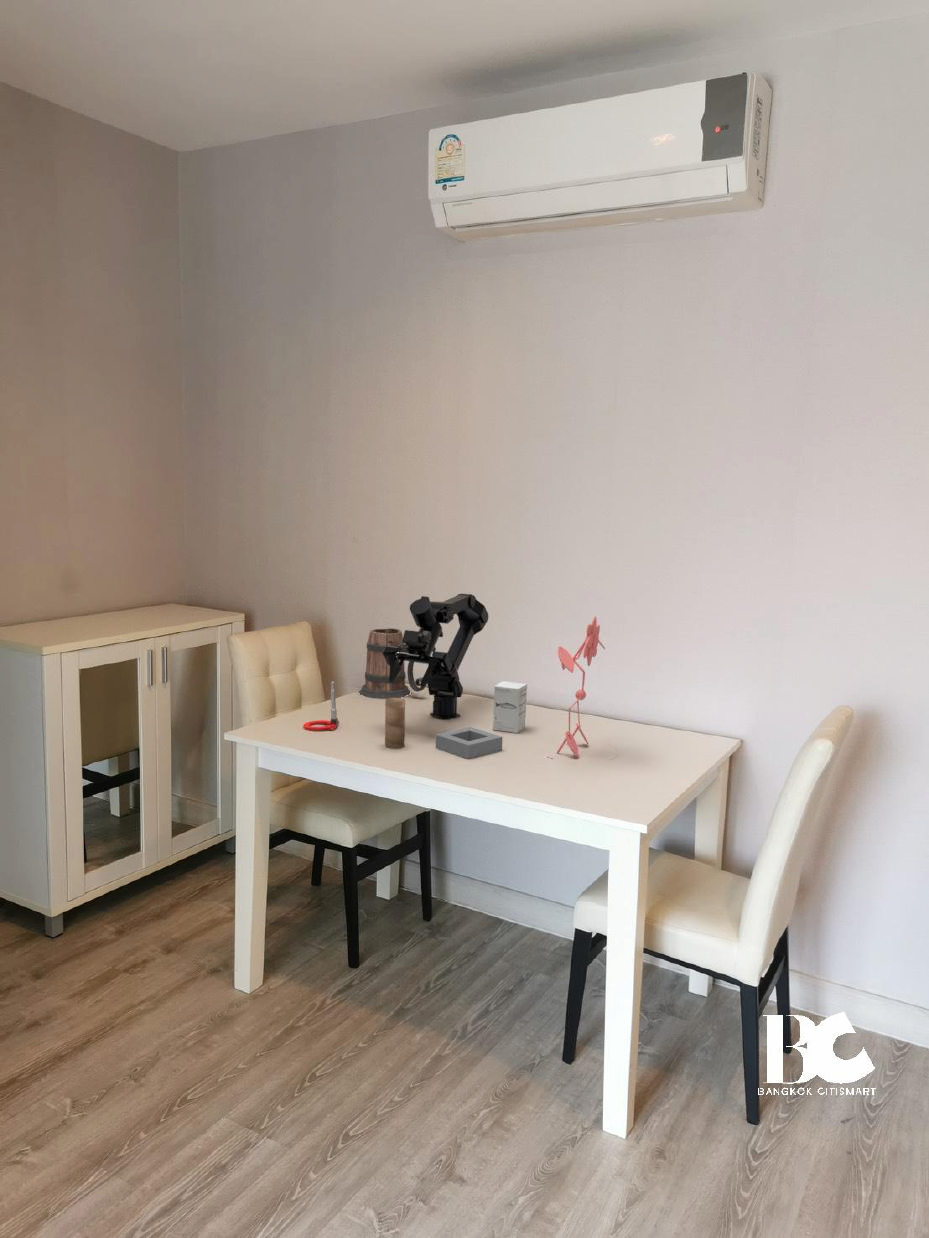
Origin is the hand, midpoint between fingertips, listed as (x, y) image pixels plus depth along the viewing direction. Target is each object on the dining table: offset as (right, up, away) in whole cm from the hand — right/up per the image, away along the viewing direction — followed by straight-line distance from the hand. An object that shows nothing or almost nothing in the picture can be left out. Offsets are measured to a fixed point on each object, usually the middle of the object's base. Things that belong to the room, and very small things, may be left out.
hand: (405, 683), depth 245 cm
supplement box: (+28, -14, +13) cm, 34 cm away
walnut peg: (-2, -16, -5) cm, 17 cm away
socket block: (+17, -16, -7) cm, 24 cm away
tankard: (-7, -7, +50) cm, 51 cm away
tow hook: (-24, -13, +10) cm, 29 cm away
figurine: (+47, -17, -7) cm, 50 cm away
